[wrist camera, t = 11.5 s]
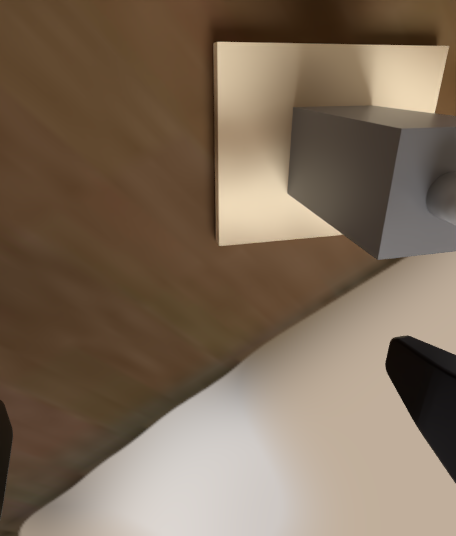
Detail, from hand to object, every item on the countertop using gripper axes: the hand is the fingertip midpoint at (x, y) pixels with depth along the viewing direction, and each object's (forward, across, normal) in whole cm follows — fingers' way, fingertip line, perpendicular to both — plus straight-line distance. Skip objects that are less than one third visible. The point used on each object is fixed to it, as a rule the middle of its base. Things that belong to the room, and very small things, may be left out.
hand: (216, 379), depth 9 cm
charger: (+11, -8, -3) cm, 14 cm away
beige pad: (+12, -8, -3) cm, 15 cm away
